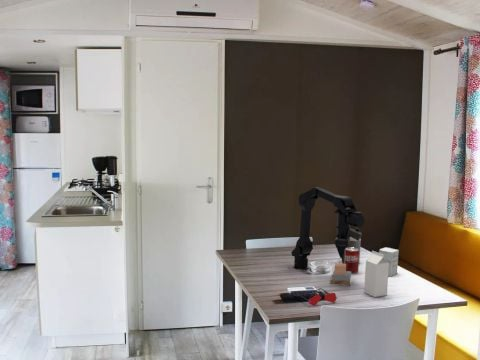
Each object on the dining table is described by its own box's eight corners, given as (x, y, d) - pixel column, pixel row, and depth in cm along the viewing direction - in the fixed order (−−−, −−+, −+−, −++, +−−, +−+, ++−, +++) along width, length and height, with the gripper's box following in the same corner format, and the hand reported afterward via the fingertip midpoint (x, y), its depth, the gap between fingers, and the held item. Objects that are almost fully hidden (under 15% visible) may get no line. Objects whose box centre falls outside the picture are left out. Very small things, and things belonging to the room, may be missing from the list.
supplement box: (377, 273, 254) (378, 249, 252) (384, 270, 259) (385, 246, 257) (390, 276, 249) (392, 252, 247) (397, 273, 254) (399, 249, 252)
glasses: (309, 308, 206) (309, 296, 206) (290, 294, 222) (290, 284, 221) (337, 303, 212) (338, 292, 211) (317, 291, 227) (317, 280, 226)
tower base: (330, 285, 236) (330, 280, 236) (331, 279, 245) (331, 274, 245) (349, 287, 234) (349, 281, 234) (350, 281, 243) (350, 276, 242)
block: (334, 274, 237) (334, 265, 237) (335, 270, 242) (335, 262, 242) (345, 275, 236) (345, 266, 235) (345, 271, 241) (346, 263, 240)
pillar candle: (339, 264, 269) (341, 236, 267) (343, 259, 278) (344, 233, 276) (358, 266, 266) (359, 239, 264) (360, 261, 275) (362, 235, 273)
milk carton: (374, 297, 219) (377, 255, 217) (363, 292, 225) (366, 251, 223) (387, 295, 222) (389, 253, 220) (375, 290, 228) (378, 249, 226)
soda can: (358, 274, 251) (359, 251, 250) (343, 273, 253) (344, 250, 251) (358, 270, 258) (359, 247, 257) (343, 269, 260) (344, 246, 258)
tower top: (331, 279, 237) (332, 274, 236) (334, 274, 244) (334, 269, 244) (349, 281, 234) (349, 276, 234) (350, 276, 242) (351, 271, 242)
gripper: (360, 228, 225) (358, 262, 227) (361, 220, 243) (359, 252, 245) (335, 227, 228) (334, 260, 229) (338, 219, 245) (336, 250, 247)
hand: (342, 255), depth 238 cm, fingers open, 9 cm apart
